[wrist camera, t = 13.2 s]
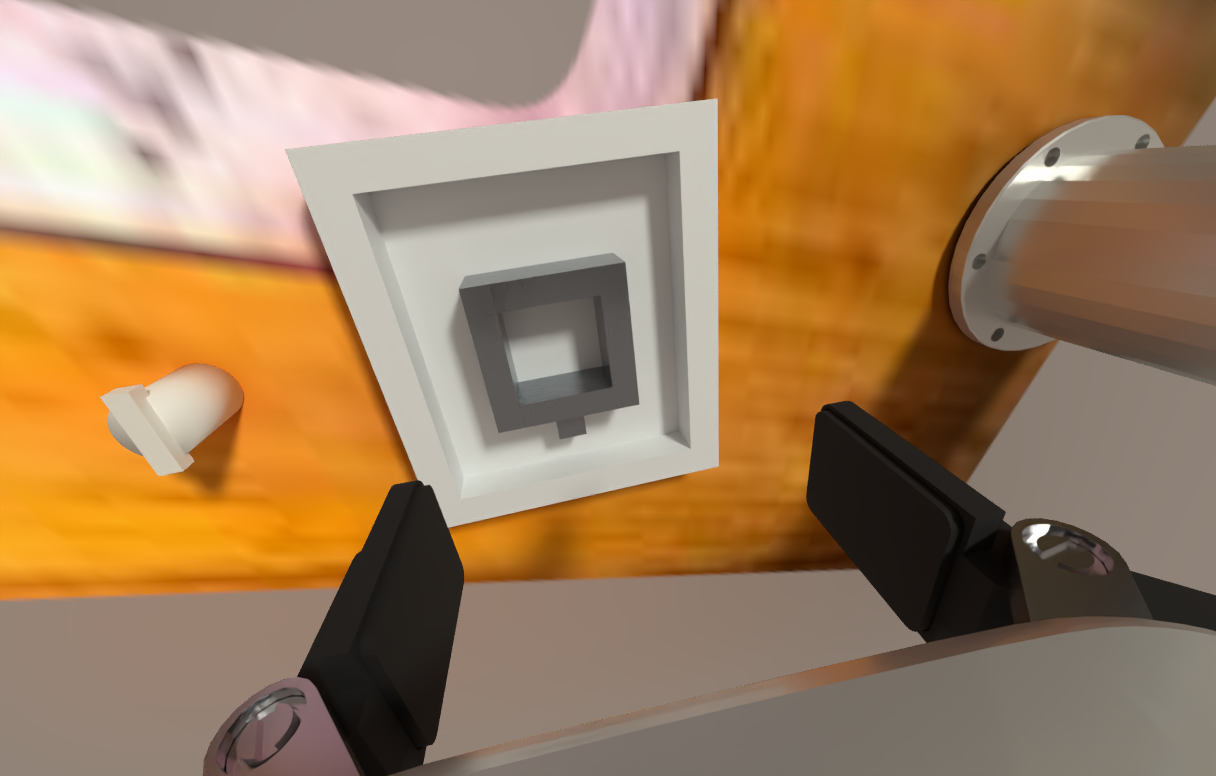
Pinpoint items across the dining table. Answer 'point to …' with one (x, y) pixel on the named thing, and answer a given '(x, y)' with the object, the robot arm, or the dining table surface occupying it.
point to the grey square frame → (564, 392)
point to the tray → (542, 335)
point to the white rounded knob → (173, 414)
